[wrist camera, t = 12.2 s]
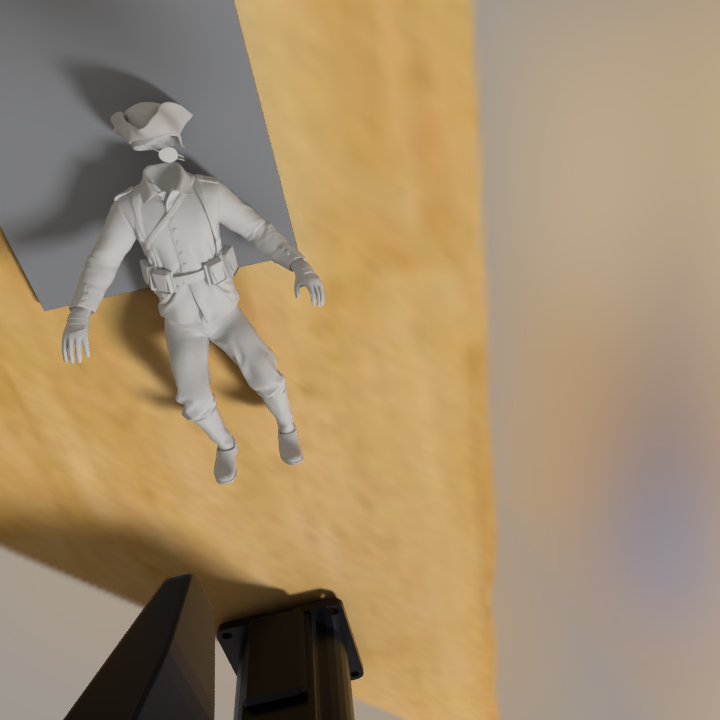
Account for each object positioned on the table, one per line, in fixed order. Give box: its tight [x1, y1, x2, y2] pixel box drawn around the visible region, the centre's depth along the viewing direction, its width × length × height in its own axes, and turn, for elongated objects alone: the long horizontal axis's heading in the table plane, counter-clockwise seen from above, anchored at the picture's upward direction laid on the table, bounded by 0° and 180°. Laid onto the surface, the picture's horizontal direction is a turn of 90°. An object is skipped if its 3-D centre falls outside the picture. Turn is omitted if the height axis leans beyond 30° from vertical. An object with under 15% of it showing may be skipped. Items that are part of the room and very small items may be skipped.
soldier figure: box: [62, 102, 324, 484], centre depth 18 cm, size 8×5×12 cm
